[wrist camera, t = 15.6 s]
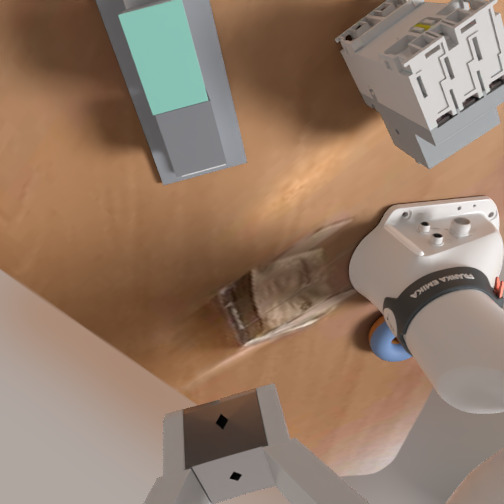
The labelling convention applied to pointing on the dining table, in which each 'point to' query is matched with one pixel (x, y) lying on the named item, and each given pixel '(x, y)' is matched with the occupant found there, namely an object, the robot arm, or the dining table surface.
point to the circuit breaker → (430, 72)
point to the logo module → (164, 54)
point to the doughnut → (386, 342)
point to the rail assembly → (187, 118)
